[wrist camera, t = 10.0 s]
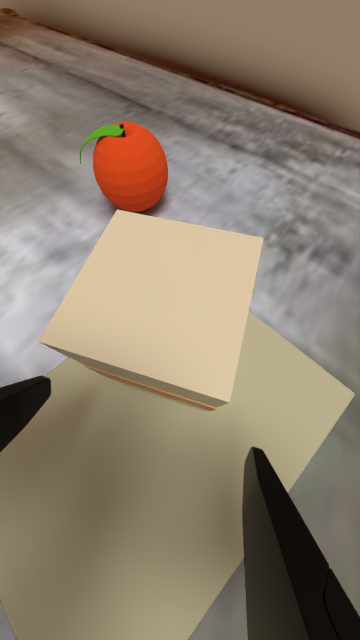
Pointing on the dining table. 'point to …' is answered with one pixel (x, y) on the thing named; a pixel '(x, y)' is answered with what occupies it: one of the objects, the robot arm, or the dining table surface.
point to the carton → (161, 308)
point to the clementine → (129, 165)
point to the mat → (146, 493)
